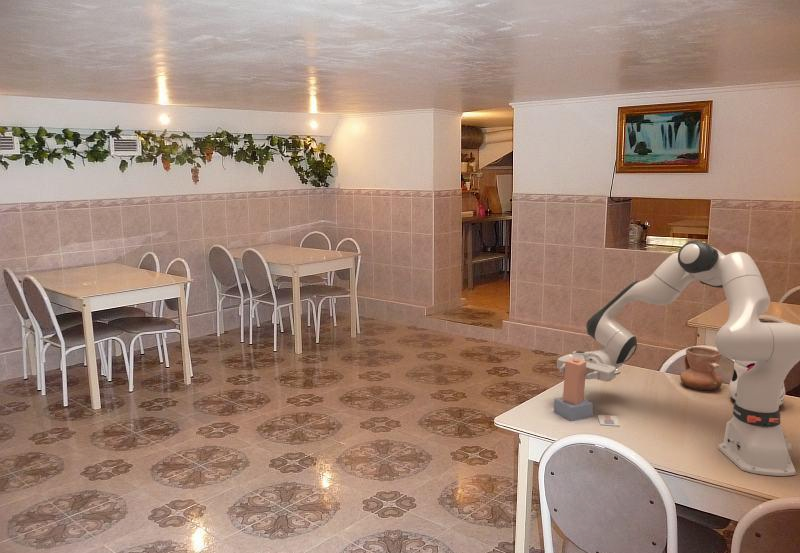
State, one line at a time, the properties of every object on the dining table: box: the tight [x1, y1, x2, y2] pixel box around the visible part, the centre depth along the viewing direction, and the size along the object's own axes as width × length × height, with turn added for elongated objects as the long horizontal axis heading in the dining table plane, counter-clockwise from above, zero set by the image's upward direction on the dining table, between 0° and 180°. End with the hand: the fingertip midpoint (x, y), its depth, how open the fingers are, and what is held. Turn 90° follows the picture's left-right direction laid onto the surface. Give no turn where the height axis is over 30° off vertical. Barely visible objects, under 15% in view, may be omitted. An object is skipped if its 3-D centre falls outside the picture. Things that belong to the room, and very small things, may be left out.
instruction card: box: [597, 414, 621, 427], centre depth 216 cm, size 8×6×1 cm
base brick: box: [553, 396, 594, 422], centre depth 221 cm, size 9×9×5 cm
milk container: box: [728, 360, 786, 407], centre depth 230 cm, size 17×17×18 cm
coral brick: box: [562, 358, 587, 405], centre depth 219 cm, size 5×5×14 cm
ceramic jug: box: [680, 346, 723, 391], centre depth 247 cm, size 18×14×14 cm
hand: (573, 373), depth 219 cm, fingers open, 8 cm apart
